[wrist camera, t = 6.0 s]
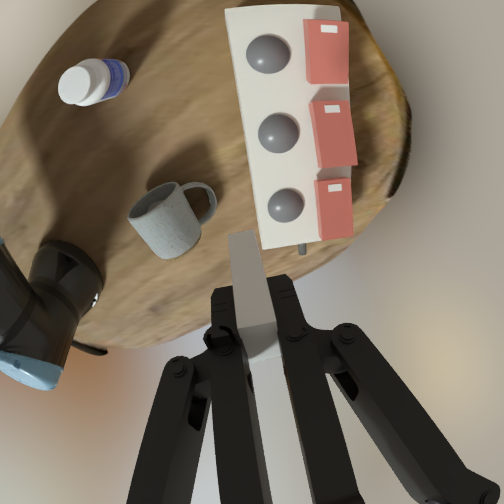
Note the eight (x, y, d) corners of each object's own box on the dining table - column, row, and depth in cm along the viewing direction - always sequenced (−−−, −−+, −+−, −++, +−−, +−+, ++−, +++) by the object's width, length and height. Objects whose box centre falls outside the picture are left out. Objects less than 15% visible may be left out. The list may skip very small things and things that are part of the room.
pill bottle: (123, 52, 23) (88, 47, 15) (136, 87, 26) (104, 93, 18) (88, 72, 24) (46, 77, 16) (100, 105, 27) (62, 120, 19)
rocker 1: (306, 80, 23) (311, 84, 22) (302, 18, 18) (307, 19, 17) (341, 79, 23) (348, 84, 22) (341, 20, 18) (348, 22, 17)
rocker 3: (318, 236, 33) (322, 241, 31) (313, 179, 30) (317, 181, 29) (348, 231, 33) (353, 236, 31) (345, 176, 30) (350, 178, 29)
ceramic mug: (164, 240, 40) (156, 274, 34) (135, 198, 35) (118, 226, 29) (227, 212, 38) (228, 243, 32) (200, 163, 34) (195, 185, 27)
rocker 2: (317, 167, 27) (322, 168, 26) (308, 104, 25) (312, 101, 23) (352, 164, 27) (358, 165, 26) (343, 103, 25) (348, 100, 23)
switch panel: (261, 251, 43) (266, 276, 38) (225, 18, 22) (224, 6, 17) (335, 239, 42) (348, 262, 38) (324, 14, 22) (342, 4, 17)
